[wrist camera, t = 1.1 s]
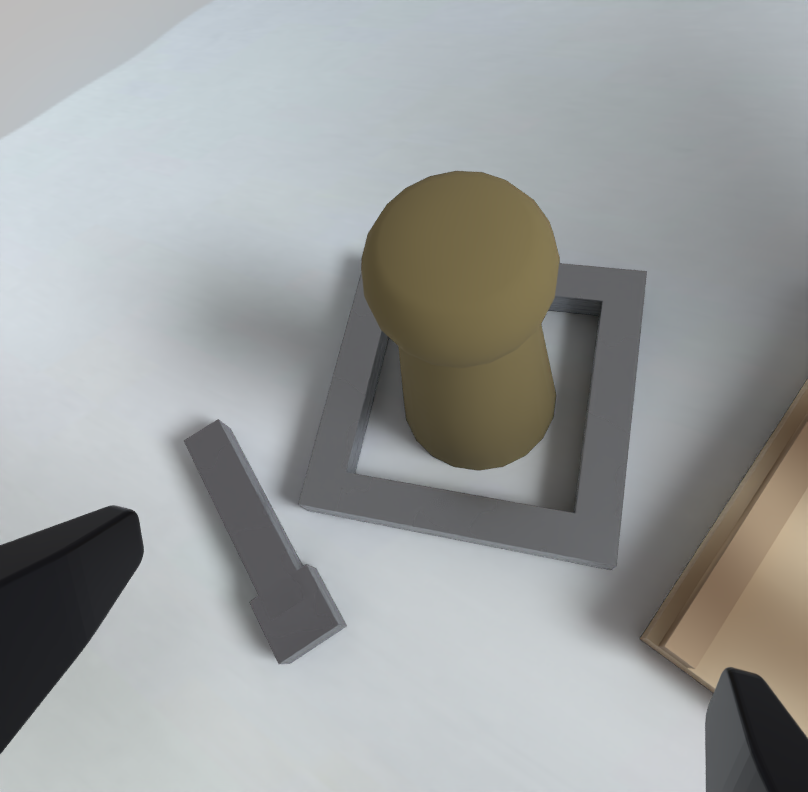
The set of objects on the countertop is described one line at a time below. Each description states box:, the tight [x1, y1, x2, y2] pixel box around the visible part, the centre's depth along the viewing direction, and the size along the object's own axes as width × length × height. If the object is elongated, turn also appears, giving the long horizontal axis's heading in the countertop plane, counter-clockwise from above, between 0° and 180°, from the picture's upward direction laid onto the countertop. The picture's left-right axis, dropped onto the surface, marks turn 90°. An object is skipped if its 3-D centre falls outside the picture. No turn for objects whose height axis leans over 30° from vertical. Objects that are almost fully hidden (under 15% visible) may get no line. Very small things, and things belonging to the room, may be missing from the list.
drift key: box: [184, 419, 347, 664], centre depth 24 cm, size 9×2×1 cm, turn 32°
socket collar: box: [298, 263, 647, 570], centre depth 25 cm, size 11×11×1 cm
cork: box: [361, 171, 560, 470], centre depth 21 cm, size 6×6×11 cm
